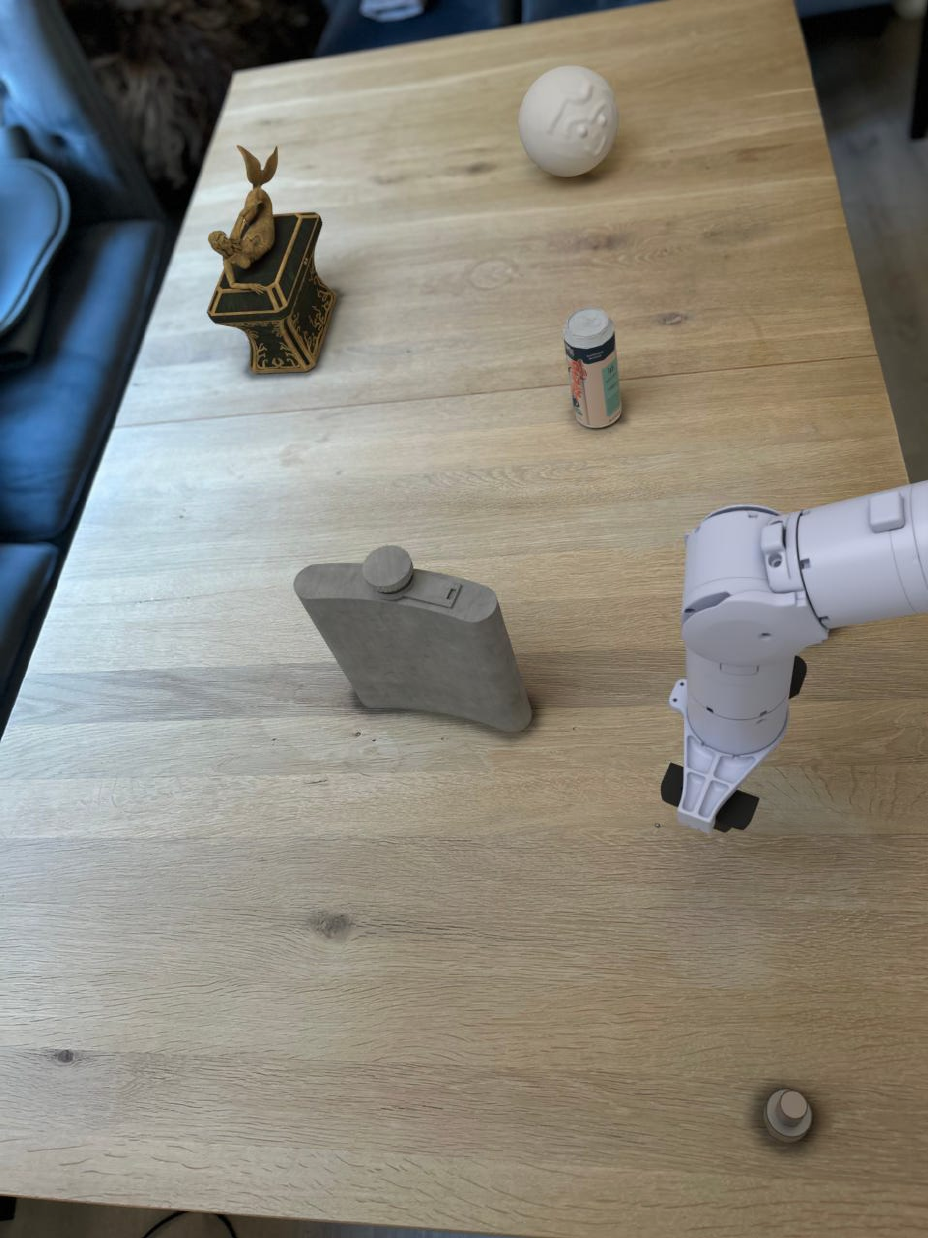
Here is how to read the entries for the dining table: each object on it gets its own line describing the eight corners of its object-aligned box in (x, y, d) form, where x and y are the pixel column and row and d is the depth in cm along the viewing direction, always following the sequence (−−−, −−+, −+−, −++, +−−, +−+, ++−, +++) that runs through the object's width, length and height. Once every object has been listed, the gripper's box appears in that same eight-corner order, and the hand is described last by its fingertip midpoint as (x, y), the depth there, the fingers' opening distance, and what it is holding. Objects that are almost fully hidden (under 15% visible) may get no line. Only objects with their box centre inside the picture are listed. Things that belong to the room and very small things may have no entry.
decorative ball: (559, 210, 120) (547, 116, 110) (508, 168, 127) (492, 76, 117) (641, 165, 122) (636, 69, 112) (586, 126, 128) (576, 32, 118)
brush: (813, 1107, 64) (824, 1092, 59) (801, 1151, 63) (810, 1140, 58) (770, 1087, 66) (777, 1070, 60) (757, 1130, 64) (762, 1117, 59)
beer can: (577, 397, 103) (563, 305, 93) (623, 395, 102) (615, 302, 92) (573, 432, 100) (559, 341, 90) (621, 430, 99) (612, 338, 89)
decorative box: (318, 382, 112) (253, 233, 96) (240, 385, 114) (164, 240, 98) (355, 265, 122) (302, 112, 106) (283, 270, 125) (220, 121, 108)
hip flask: (354, 705, 88) (274, 576, 72) (369, 666, 90) (295, 531, 73) (526, 736, 83) (483, 605, 67) (538, 693, 85) (499, 556, 68)
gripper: (713, 557, 60) (712, 667, 72) (622, 760, 55) (636, 846, 66) (831, 589, 58) (810, 698, 69) (749, 807, 52) (741, 888, 63)
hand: (732, 773), depth 67 cm, fingers open, 7 cm apart
